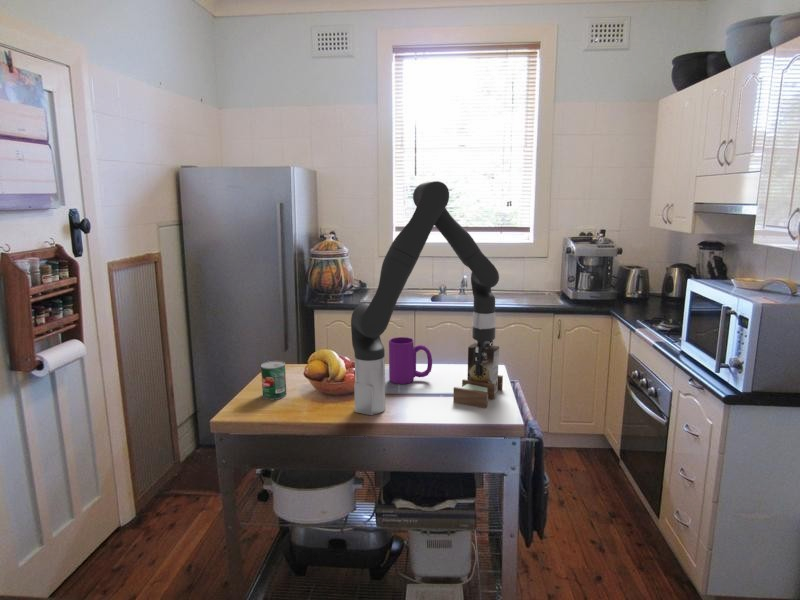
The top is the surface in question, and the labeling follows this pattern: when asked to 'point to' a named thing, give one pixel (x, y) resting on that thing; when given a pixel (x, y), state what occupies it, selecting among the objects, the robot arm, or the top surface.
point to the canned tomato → (273, 380)
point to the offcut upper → (475, 387)
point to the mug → (405, 360)
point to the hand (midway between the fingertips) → (482, 371)
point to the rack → (476, 393)
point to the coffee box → (485, 365)
